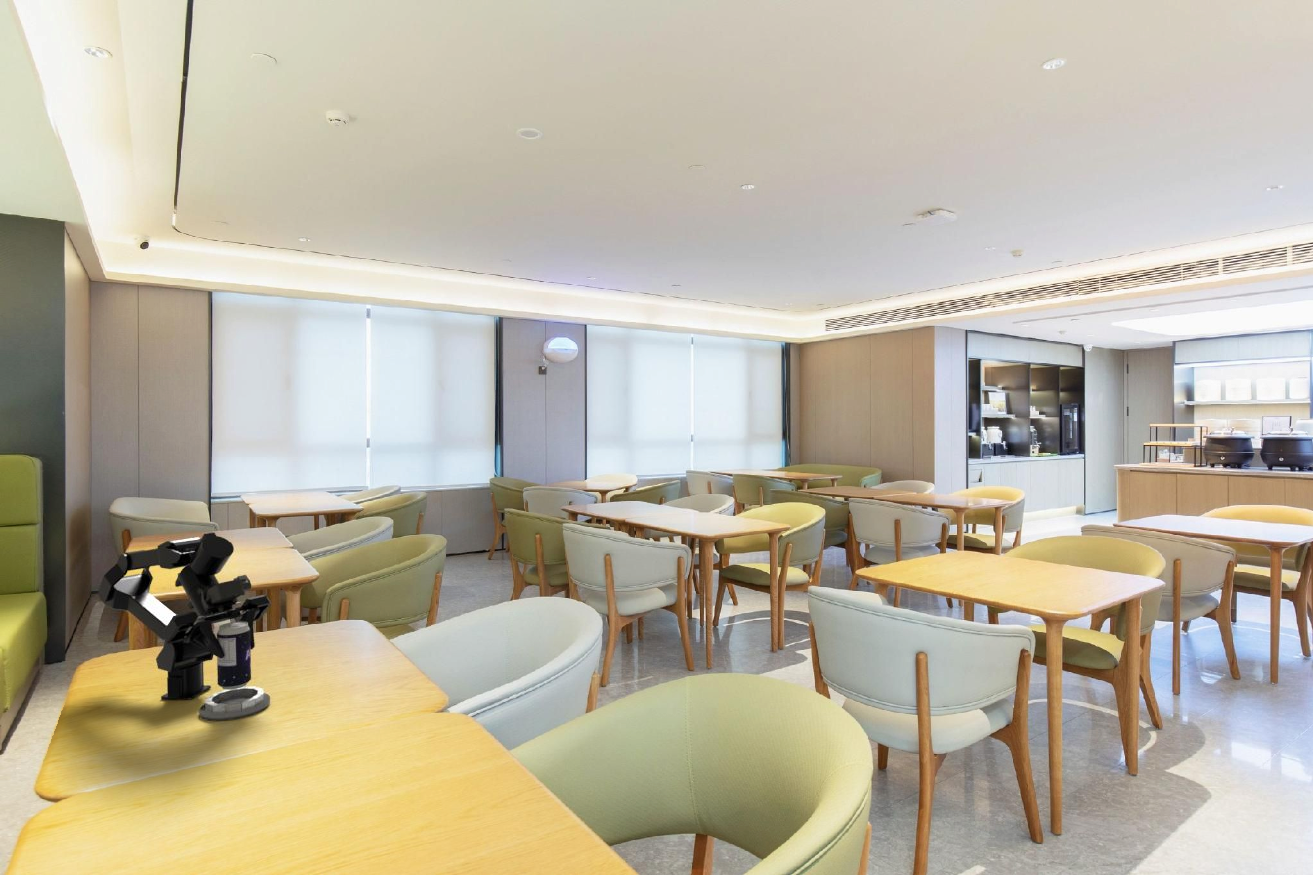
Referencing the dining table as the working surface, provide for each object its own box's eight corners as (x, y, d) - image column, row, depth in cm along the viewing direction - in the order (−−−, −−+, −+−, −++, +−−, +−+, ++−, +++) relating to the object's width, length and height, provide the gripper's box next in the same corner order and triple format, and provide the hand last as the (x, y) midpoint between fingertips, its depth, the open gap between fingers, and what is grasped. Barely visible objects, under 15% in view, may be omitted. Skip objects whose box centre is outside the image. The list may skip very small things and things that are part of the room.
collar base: (225, 696, 149) (225, 684, 149) (282, 696, 148) (282, 684, 148) (184, 720, 137) (184, 707, 137) (246, 721, 136) (246, 708, 136)
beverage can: (251, 687, 142) (250, 626, 141) (217, 693, 139) (216, 630, 138) (250, 678, 147) (249, 619, 146) (217, 683, 144) (216, 623, 143)
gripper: (170, 573, 135) (206, 641, 131) (264, 556, 152) (300, 615, 147) (147, 609, 139) (182, 676, 135) (242, 589, 156) (275, 648, 151)
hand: (238, 652), depth 142 cm, fingers closed on beverage can, 6 cm apart
